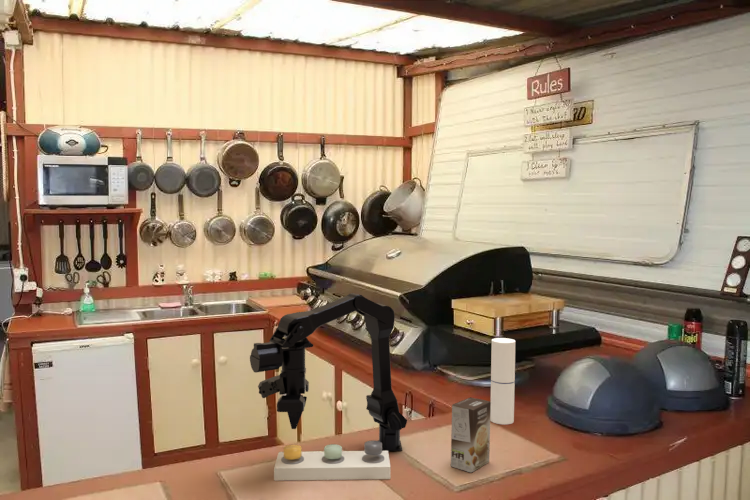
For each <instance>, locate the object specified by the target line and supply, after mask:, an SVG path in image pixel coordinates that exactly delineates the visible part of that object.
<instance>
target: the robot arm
mask: <svg viewBox="0 0 750 500" xmlns="http://www.w3.org/2000/svg"><path fill="white" fill-rule="evenodd" d="M354 312H356V313H358V314H359V315H362V316H363V318H364V319H363V320H364V324H365V325H364V326H365V328H366V330H367V332H368V334H369V336H370V341H371V342H370V343H371V363H372V380H373V381H372V384H373V389H372V391H371V393H370V394H367V395H366V396H365V399H366V410H367V411H368V414H369V415H370V416H371V417H372V419H373V422H374V423H377V424H378V427H379V428H378V434H379V435H378V436H379V437H378V440H377V441H379V442H381V443H382V451H388V452H393V451H394V452H395V451H397V452H398V451H400V452H401V451H403V446H402V442H401V430H402V429H405V428H406V426H407V423H408V419H407V418H406V417H405V416H404V415H403V414H402V413H401V412H400V407H399V404H398V399H397V397H396V395H395V393H394V391H393V389H392V373H391V372H392V370H391V369H392V367H391V350H390V349H391V348H390V347H391V344H390V336H391V335H392V331H393V330H394V328H395V319H396V315H395V314H396V313H395V310H394V309H393V308H392V307H391V306H389V305H387V304H382V303H377V302H374V301H372V300H370V299H369V298H366V297H365V296H364V295H362V294H359V293H353V292H352V293H349V294H347V295H345V296H344V297H340V298H338V299H336V300H333V301H331V302H328V303H325V304H324V305H321V306H319V307H316V308H314V309H312V310H308V311H307V310H306V311H298V312H293V313H287V314H285V315H283V316H281V318H280V320H279V322H278V326H277V327H276V329H275V331H274V332H273V334H272V335H271V337H270V339H269V341H268V342H254V343H253V348H252V349H251V352H250V355H249V361H250V362H249V363H250V367H251V369H252V371H253V373H262V372H268V371H270V372H271V371H274V370H275V371H276V370H279V369H280V368H281V370H280V373H279V375H275V376H273V377H270V378H266V379H263V380H262V381H260V382H259V383H258V385H257V388H258V394H260V395H261V398H262V399H266V398H268V396H271V395H274V394H275V395H276V394H277V393H279V395H281V396H280V397H279V398H278V400H277V403H276V412H278V413H287V416H288V421H289V424H290V427H291V430H296V429H297V427H298V425H299V421H300V419H301V418H302V414H303V412H304V411H305V407H306V403H307V399H308V398H307V396H304V395H303V394H306V392H307V393H308V392H309V390H310V389H309V388H310V385H309V384H310V382H309V381H308V380H307V379H306V374H307V368H306V349H308V348H309V349H310V348H313V347H314V344H313V343H312V342H311V341H309V339H308V337H309V336H311V335H312V334H314V333H315V331H316V330H317V329H319V327H321V326H325V325H326V324H329V323H330V322H334V321H335V320H337V319H339V318H342V317H344V316H347V315H349V314H351V313H354Z"/></svg>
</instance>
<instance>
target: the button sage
mask: <svg viewBox="0 0 750 500" xmlns="http://www.w3.org/2000/svg"><path fill="white" fill-rule="evenodd" d="M323 451H324V457H325V458H327V459H338V458H340V457H341V456H342V451H343V447H342V446H341V445H339V444H335V443H334V444H333V443H331V444H327V445H325V446H324V449H323Z"/></svg>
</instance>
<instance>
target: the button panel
mask: <svg viewBox="0 0 750 500" xmlns="http://www.w3.org/2000/svg"><path fill="white" fill-rule="evenodd" d="M276 457H277V458H276V460H275V463H274V466H273V467H274V468H273V481H274V482H275V481H276V482H277V481H332V480H334V481H338V480H339V481H340V480H342V481H343V480H345V481H347V480H350V481H351V480H391V461H390V455H389V451H382V453H381V454H379V455H368V454H366V453H365V452H364V450H342V456H341V457H340V458H338V459H327V458H325V457H324V450H323V451H320V450H319V451H317V450H316V451H315V450H313V451H302V456H301V457H300V458H298V459H294V460H289V459H285V458H284V451H278V454H277V456H276Z"/></svg>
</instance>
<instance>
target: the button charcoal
mask: <svg viewBox="0 0 750 500" xmlns="http://www.w3.org/2000/svg"><path fill="white" fill-rule="evenodd" d="M363 446H364V448H363V449H364V450H363V451H364V452H365V453H366V454H368V455H379V454H381V453H382V443H381V442H379V441H378V440H367V441H365V442H364V445H363Z"/></svg>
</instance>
